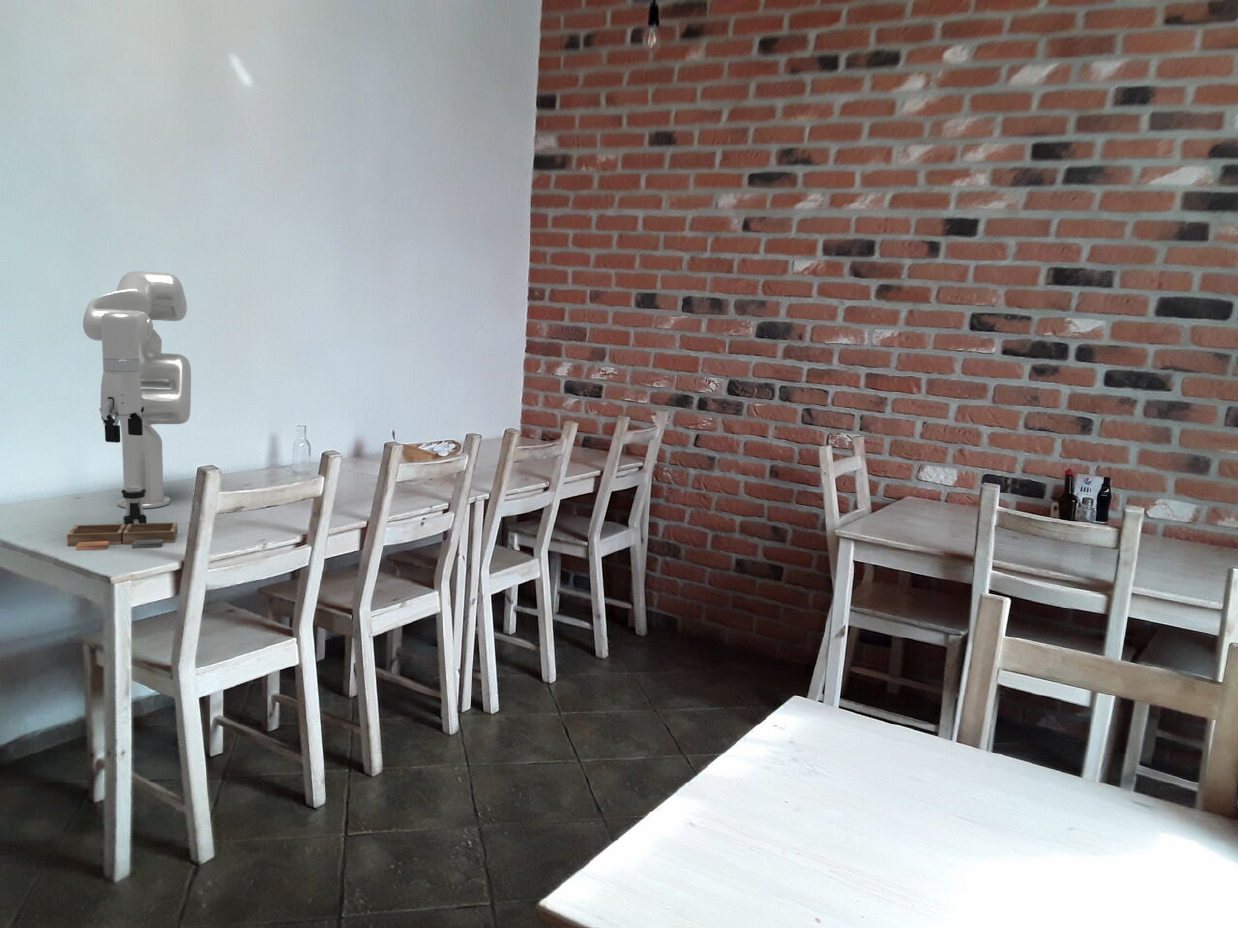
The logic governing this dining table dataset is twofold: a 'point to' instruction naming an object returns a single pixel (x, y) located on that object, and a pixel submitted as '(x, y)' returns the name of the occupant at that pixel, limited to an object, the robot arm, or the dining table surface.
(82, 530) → the terracotta tag dock
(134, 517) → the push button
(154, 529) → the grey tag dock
